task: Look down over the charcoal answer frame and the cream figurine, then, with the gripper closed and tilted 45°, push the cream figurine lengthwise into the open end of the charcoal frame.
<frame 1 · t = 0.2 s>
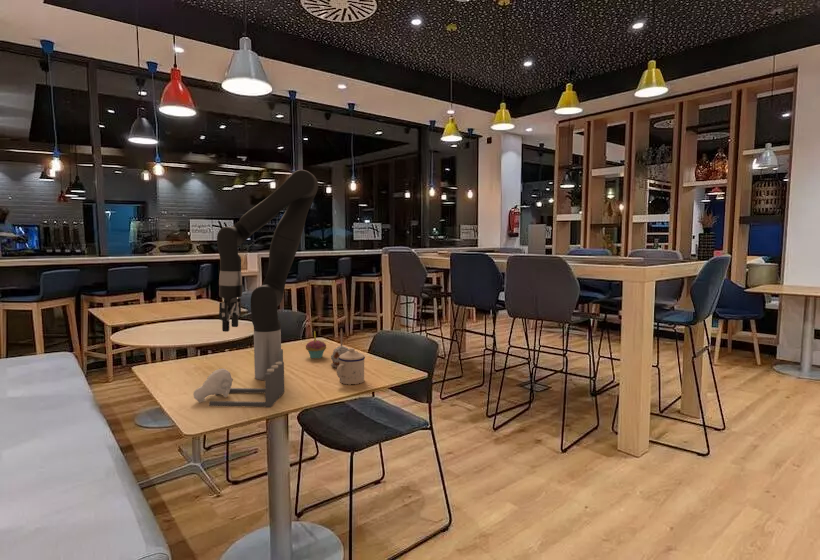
hand: (230, 329, 164), 17 cm above the table, tool pointing down, fingers open, 8 cm apart
decorative ornament: (341, 366, 181), on the table
cream figurine: (212, 399, 144), on the table
answer frame: (244, 398, 143), on the table
teacup with lid: (349, 382, 161), on the table
cupcake: (315, 357, 194), on the table
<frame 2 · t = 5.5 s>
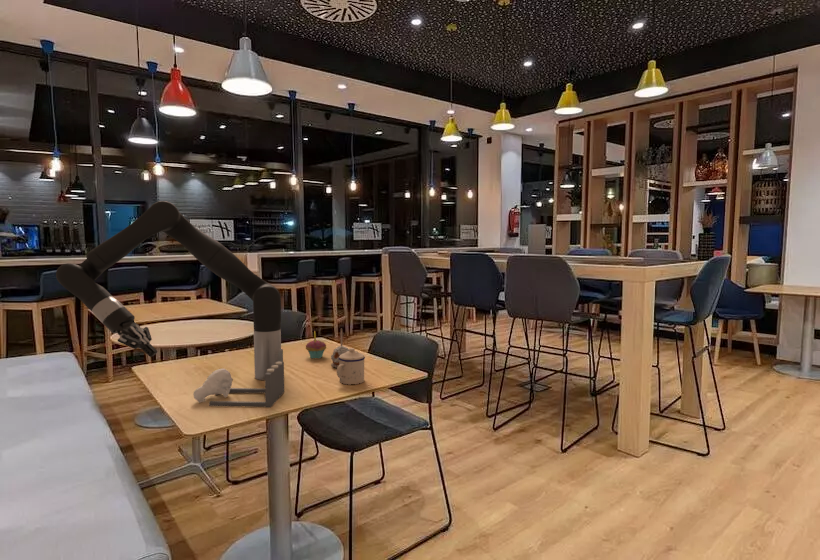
hand: (154, 354, 143), 14 cm above the table, tool tilted 45°, fingers closed
nothing on the table moved.
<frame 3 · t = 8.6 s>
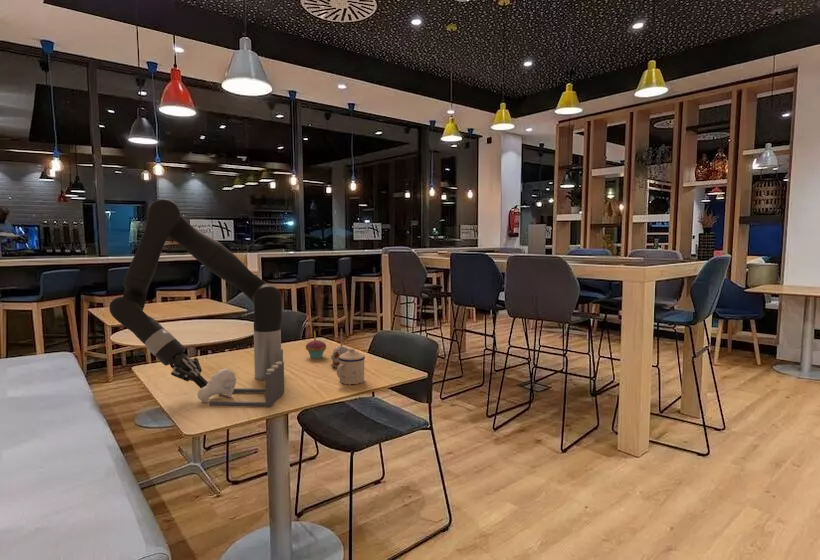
hand: (205, 386, 143), 4 cm above the table, tool tilted 45°, fingers closed
cream figurine: (216, 399, 144), on the table, touching gripper
everything else where it was.
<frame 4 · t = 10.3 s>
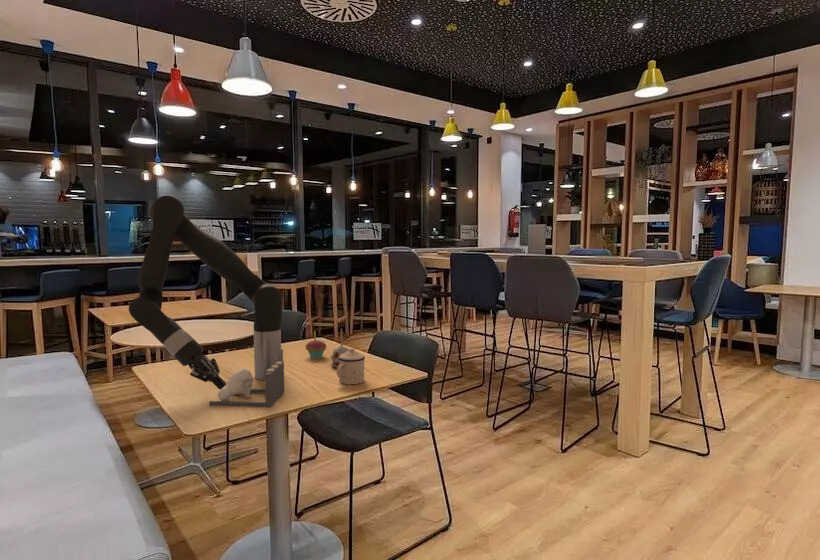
hand: (223, 386, 143), 4 cm above the table, tool tilted 45°, fingers closed
cream figurine: (234, 399, 143), on the table, touching gripper
everything else where it was.
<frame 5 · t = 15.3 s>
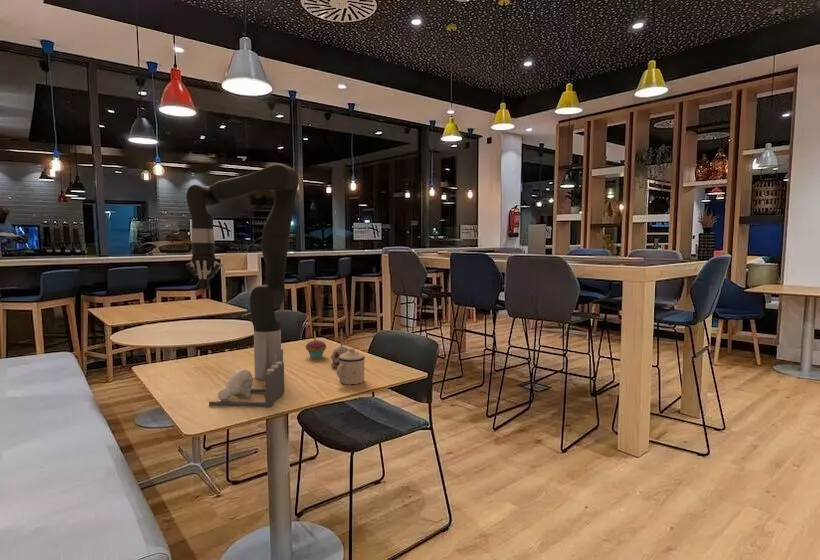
hand: (204, 289, 168), 31 cm above the table, tool pointing down, fingers closed
cream figurine: (234, 399, 143), on the table
everything else where it was.
at the end: cream figurine inside the target area (3.0 cm from its centre), on the table; cream figurine tilted 0°; cream figurine moved 7.0 cm from its start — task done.
